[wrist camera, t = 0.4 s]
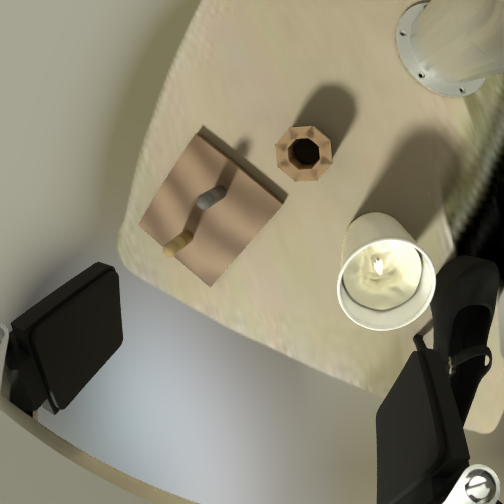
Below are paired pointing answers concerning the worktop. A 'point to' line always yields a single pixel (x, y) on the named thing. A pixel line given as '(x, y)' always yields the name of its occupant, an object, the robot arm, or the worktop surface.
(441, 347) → the high-heeled shoe
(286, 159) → the sleeve
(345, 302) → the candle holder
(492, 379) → the worktop surface
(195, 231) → the pin board
